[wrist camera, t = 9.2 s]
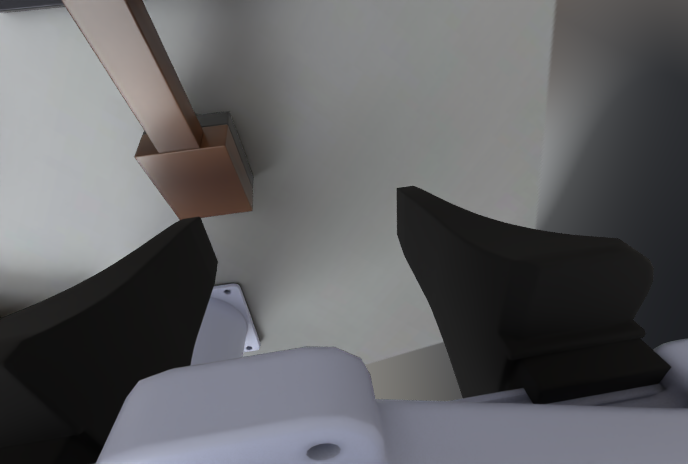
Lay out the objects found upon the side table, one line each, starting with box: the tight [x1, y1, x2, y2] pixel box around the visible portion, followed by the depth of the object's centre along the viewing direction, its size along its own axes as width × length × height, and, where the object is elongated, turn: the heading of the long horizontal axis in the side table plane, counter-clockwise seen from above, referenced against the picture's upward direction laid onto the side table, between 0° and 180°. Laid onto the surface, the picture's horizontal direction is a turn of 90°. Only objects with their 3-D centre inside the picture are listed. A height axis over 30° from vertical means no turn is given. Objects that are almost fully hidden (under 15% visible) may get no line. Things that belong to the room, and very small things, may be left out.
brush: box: [61, 0, 254, 220], centre depth 14 cm, size 16×4×3 cm, turn 5°
